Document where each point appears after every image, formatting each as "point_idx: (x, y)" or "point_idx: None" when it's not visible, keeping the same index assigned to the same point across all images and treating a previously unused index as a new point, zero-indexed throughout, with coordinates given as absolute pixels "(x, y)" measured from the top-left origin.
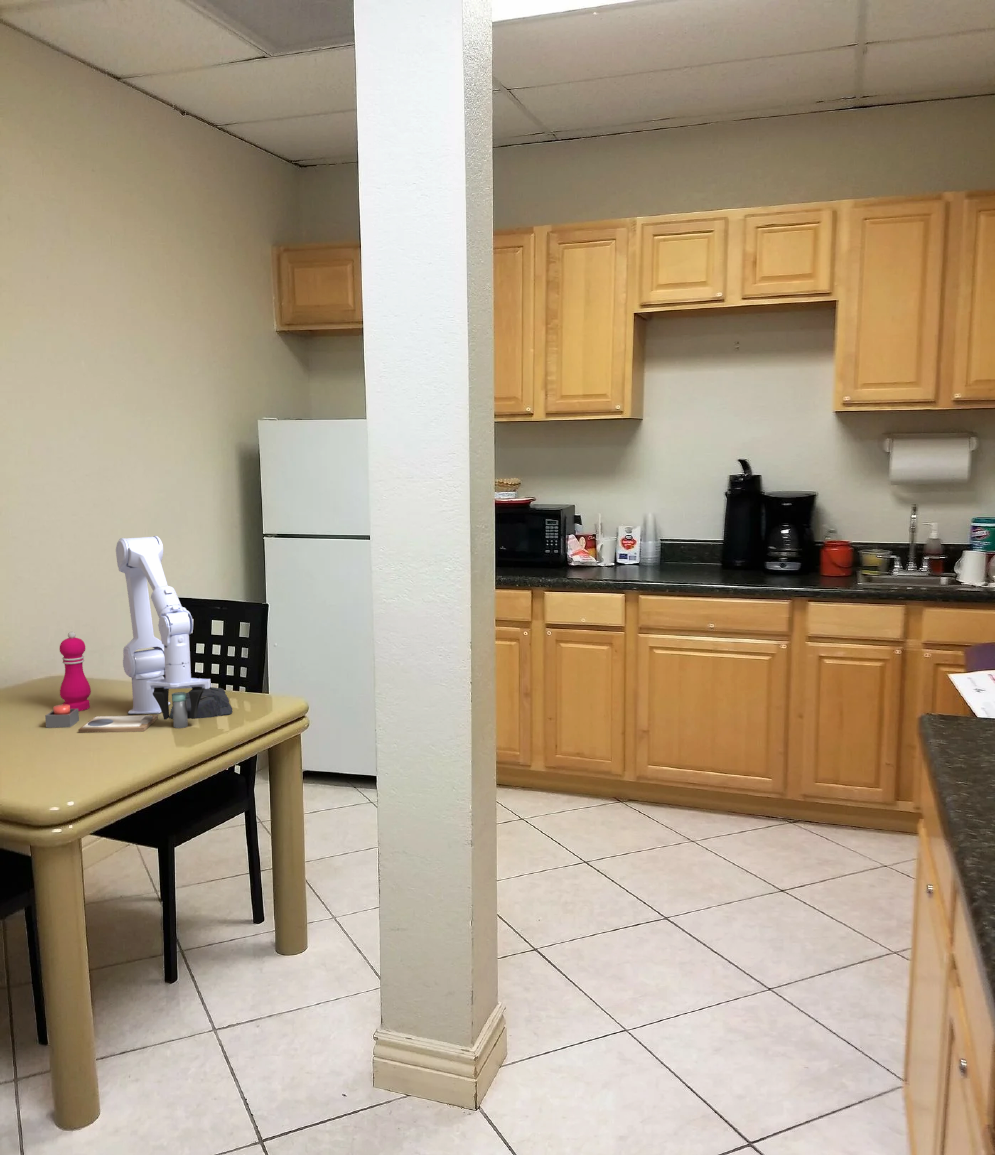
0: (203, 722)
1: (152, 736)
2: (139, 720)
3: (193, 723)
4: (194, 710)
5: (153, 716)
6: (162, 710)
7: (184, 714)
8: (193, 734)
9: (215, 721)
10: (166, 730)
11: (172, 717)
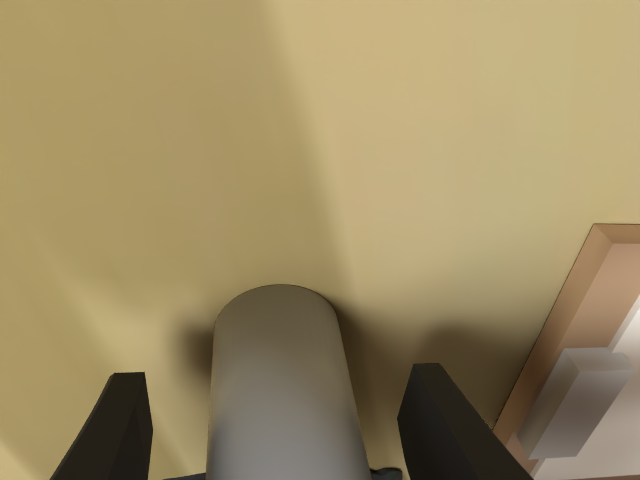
0: None
1: (530, 37)
2: (618, 402)
3: (185, 391)
4: (66, 459)
5: None
6: (490, 444)
7: (223, 416)
8: (18, 51)
9: (5, 428)
10: (390, 234)
11: (378, 477)
